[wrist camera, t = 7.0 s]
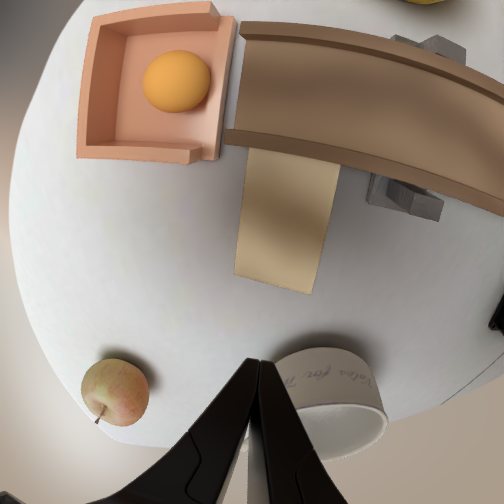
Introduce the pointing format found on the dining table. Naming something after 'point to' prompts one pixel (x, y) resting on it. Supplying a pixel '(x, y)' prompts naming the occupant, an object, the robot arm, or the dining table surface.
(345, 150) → the lever
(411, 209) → the seesaw stand
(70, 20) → the dining table surface
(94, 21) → the peach open tray
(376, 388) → the teacup
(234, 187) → the dining table surface
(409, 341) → the dining table surface
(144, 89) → the ball
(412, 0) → the plant pot
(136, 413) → the fruit
